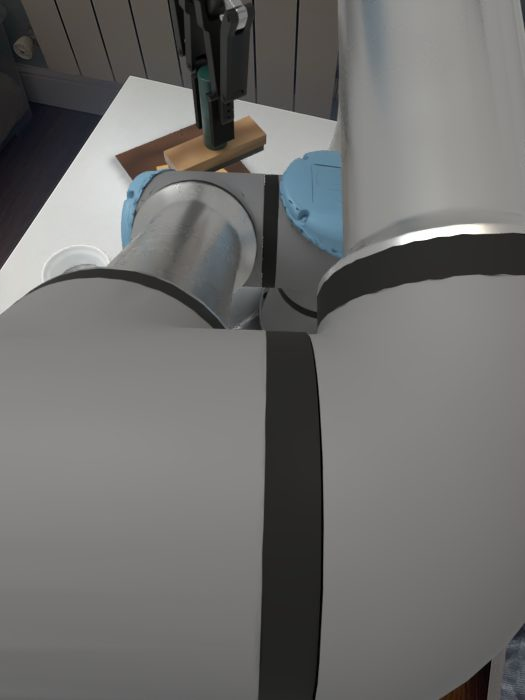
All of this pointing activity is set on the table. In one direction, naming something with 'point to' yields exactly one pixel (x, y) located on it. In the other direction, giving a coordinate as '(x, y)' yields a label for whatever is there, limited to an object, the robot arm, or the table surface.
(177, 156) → the brush
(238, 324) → the table surface
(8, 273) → the table surface
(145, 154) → the brown wooden board
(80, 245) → the ramekin
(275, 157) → the table surface
